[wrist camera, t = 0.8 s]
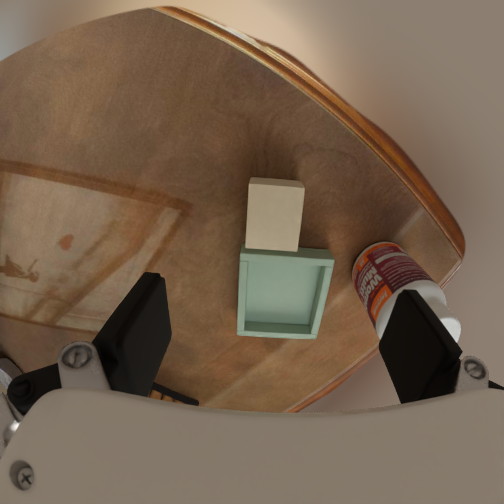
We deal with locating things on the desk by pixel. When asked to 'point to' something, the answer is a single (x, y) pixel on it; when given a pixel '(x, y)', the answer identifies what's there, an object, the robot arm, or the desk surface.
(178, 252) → the desk surface
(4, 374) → the bowl
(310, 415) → the robot arm
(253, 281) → the shallow square green tray
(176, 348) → the desk surface
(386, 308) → the pill bottle
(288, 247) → the beige block
